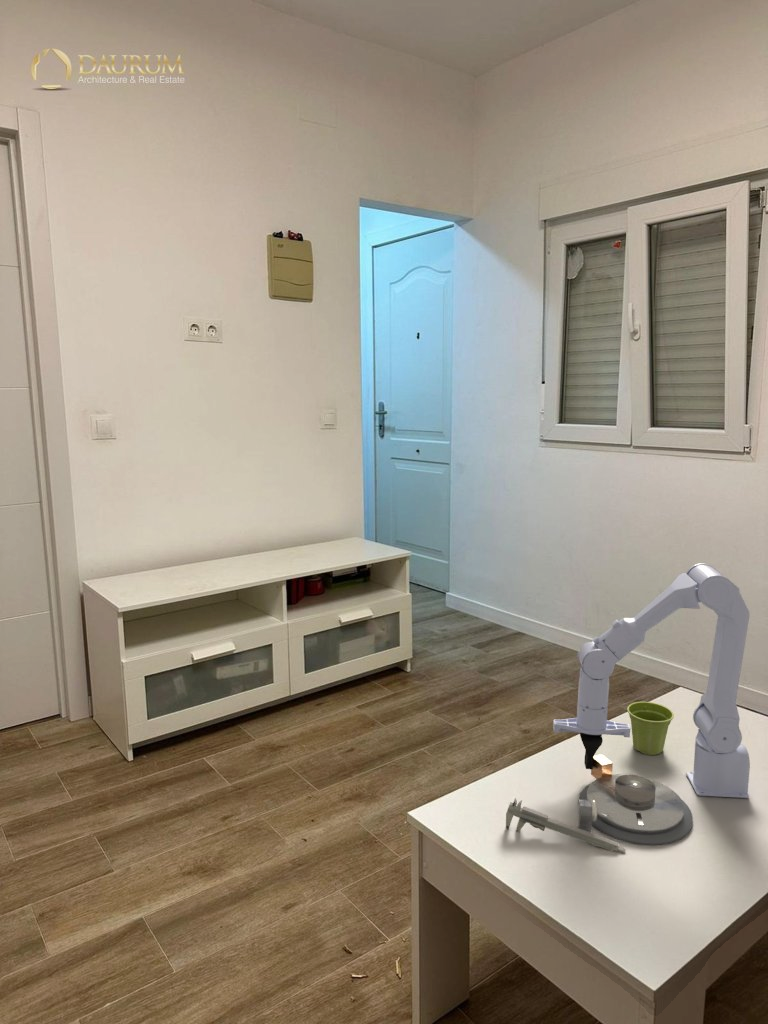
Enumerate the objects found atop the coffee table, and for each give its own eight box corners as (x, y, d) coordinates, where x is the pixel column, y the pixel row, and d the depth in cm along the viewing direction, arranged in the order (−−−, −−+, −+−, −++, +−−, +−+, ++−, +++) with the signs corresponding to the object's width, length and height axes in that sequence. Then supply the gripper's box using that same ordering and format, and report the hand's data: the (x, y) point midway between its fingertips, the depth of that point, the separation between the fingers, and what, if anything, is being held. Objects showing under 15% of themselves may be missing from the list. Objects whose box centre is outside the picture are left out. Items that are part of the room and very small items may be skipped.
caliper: (505, 831, 130) (506, 799, 129) (506, 827, 131) (507, 796, 130) (625, 855, 123) (626, 821, 122) (625, 851, 124) (627, 817, 123)
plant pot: (664, 738, 162) (666, 702, 160) (677, 760, 152) (679, 722, 151) (621, 737, 162) (623, 700, 161) (631, 758, 153) (633, 720, 152)
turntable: (671, 778, 144) (673, 760, 143) (692, 838, 125) (694, 818, 124) (583, 770, 147) (583, 752, 146) (590, 828, 128) (591, 808, 128)
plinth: (675, 784, 143) (675, 780, 143) (707, 848, 124) (707, 844, 124) (571, 779, 146) (571, 775, 146) (586, 841, 126) (587, 837, 126)
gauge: (593, 825, 131) (594, 795, 130) (596, 837, 127) (597, 806, 126) (577, 824, 131) (578, 794, 130) (580, 837, 128) (581, 806, 127)
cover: (652, 791, 137) (653, 776, 136) (657, 812, 130) (657, 796, 130) (613, 787, 138) (614, 772, 138) (616, 808, 132) (616, 792, 131)
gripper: (626, 696, 145) (622, 758, 148) (552, 692, 147) (549, 753, 150) (634, 712, 139) (629, 777, 141) (556, 707, 140) (553, 772, 143)
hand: (588, 766), depth 145 cm, fingers closed, pressing on turntable
